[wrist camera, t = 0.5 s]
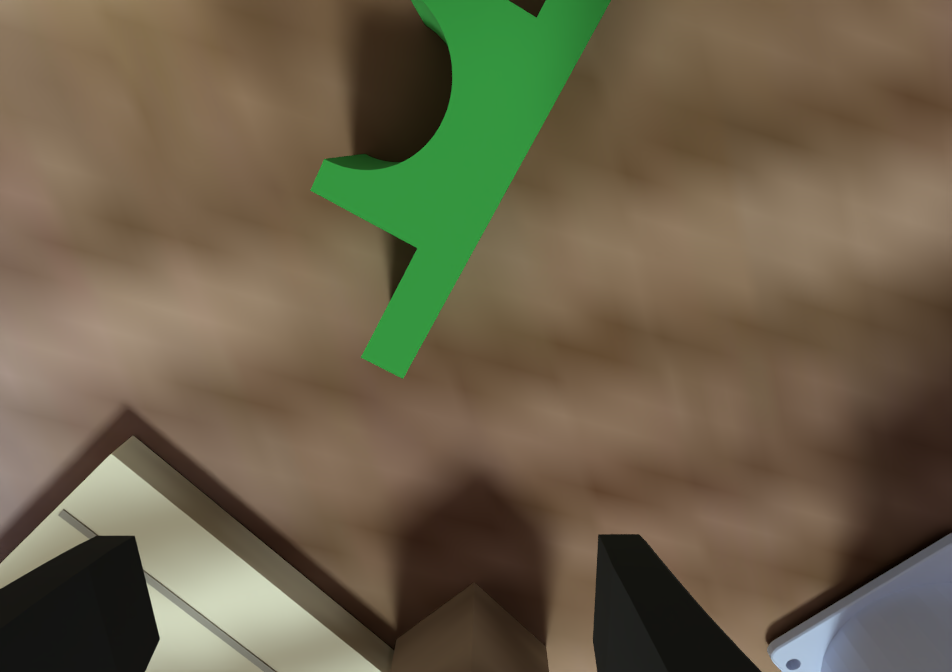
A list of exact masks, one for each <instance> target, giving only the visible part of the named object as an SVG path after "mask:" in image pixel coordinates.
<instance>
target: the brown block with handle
mask: <svg viewBox="0 0 952 672" xmlns="http://www.w3.org/2000/svg"><path fill="white" fill-rule="evenodd" d="M390 672H549V669H548V660H547V651H546V646H545V645H543V644H542V643H541V642H540V641H539V640H538V639H537V638H536V637H535V636H533V635H532V634H531V633H530V632H529V631H528V630H527V629H526V628H525V627H523V626H522V625H521V624H520V623H519V622H518V621H517V620H516V619H515V618H513V617H512V616H511V615H510V614H509V613H508V612H507V611H506V610H505V609H503V608H502V607H501V606H500V605H499V604H498V603H497V602H496V601H495V600H493V599H492V598H491V597H490V596H489V595H488V594H487V593H486V592H485V591H483V590H482V589H481V588H480V587H479V586H478V585H477V584H476V583H475V582H474V583H473V584H471V585H470V586H469V587H467V588H466V589H464V590H463V591H462V592H460V593H459V594H458V595H456V596H455V597H454V598H452V599H451V600H449V601H448V602H447V603H445V604H444V605H443V606H441V607H440V608H438V609H437V610H436V611H434V612H433V613H432V614H430V615H429V616H428V617H426V618H425V619H423V620H422V621H421V622H419V623H418V624H417V625H415V626H414V627H413V628H411V629H410V630H408V631H407V632H406V633H404V634H403V635H402V636H400V637H399V638H398V639H396V644H395V649H394V655H393V660H392V666H391V671H390Z"/></svg>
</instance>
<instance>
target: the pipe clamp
mask: <svg viewBox="0 0 952 672" xmlns="http://www.w3.org/2000/svg"><path fill="white" fill-rule="evenodd" d="M411 1H412V3H413V5H414V6H415V8H416V10H417V12H418V13H419V15H420V17H421V19H422V20H423V22H424V24H425V25H426V26H428V27H429V28H431V29H432V30H433V31H434V32H435V33H437V34H438V35H439V36H440V37H441V38H442V40H443V41H444V42H445V43H446V45H447V46H448V48H449V52H450V56H451V63H452V90H451V96H450V101H449V105H448V108H447V111H446V114H445V116H444V119H443V121H442V123H441V125H440V127H439V128H438V130H437V131H436V133H435V135H434V136H433V137H432V138H431V140H430V141H429V142H428V143H427V144H426V145H425V146H424V147H423V148H422V149H421V150H420V151H419V152H417V153H416V154H415V155H413V156H412V157H410V158H409V159H407V160H405V161H403V162H388V161H382V160H378V159H376V158H373V157H370V156H368V155H366V154H360V155H352V156H344V157H336V158H328V159H324V161H323V163H322V165H321V168H320V170H319V172H318V174H317V177H316V179H315V181H314V183H313V186H312V188H311V190H310V191H312V192H314V193H316V194H318V195H320V196H322V197H323V198H325V199H327V200H329V201H331V202H333V203H335V204H336V205H338V206H340V207H342V208H344V209H346V210H348V211H349V212H351V213H353V214H355V215H357V216H359V217H360V218H362V219H364V220H366V221H368V222H370V223H372V224H373V225H375V226H377V227H379V228H381V229H383V230H385V231H386V232H388V233H390V234H392V235H394V236H396V237H398V238H399V239H401V240H403V241H405V242H407V243H409V244H410V245H412V246H414V247H416V248H417V250H416V252H415V254H414V256H413V258H412V260H411V262H410V264H409V266H408V268H407V269H406V271H405V273H404V275H403V277H402V279H401V281H400V283H399V285H398V287H397V289H396V291H395V293H394V295H393V296H392V298H391V300H390V302H389V304H388V306H387V308H386V310H385V312H384V314H383V316H382V318H381V320H380V322H379V324H378V325H377V327H376V329H375V331H374V333H373V335H372V337H371V339H370V341H369V343H368V345H367V347H366V349H365V351H364V353H363V354H362V356H361V358H363V359H365V360H367V361H369V362H371V363H373V364H375V365H377V366H379V367H381V368H383V369H385V370H387V371H389V372H391V373H393V374H395V375H397V376H398V377H400V378H402V379H403V378H404V376H405V374H406V372H407V370H408V369H409V367H410V365H411V363H412V361H413V360H414V358H415V356H416V354H417V352H418V350H419V349H420V347H421V345H422V343H423V341H424V340H425V338H426V336H427V334H428V332H429V330H430V329H431V327H432V325H433V323H434V321H435V320H436V318H437V316H438V314H439V312H440V310H441V309H442V307H443V305H444V303H445V301H446V300H447V298H448V296H449V294H450V292H451V290H452V289H453V287H454V285H455V283H456V281H457V280H458V278H459V276H460V274H461V272H462V270H463V269H464V267H465V265H466V263H467V261H468V260H469V258H470V256H471V254H472V252H473V250H474V249H475V247H476V245H477V243H478V241H479V240H480V238H481V236H482V234H483V232H484V230H485V229H486V227H487V225H488V223H489V221H490V220H491V218H492V216H493V214H494V212H495V210H496V209H497V207H498V205H499V203H500V201H501V200H502V198H503V196H504V194H505V192H506V190H507V189H508V187H509V185H510V183H511V181H512V179H513V178H514V176H515V174H516V172H517V170H518V169H519V167H520V165H521V163H522V161H523V159H524V158H525V156H526V154H527V152H528V150H529V149H530V147H531V145H532V143H533V141H534V139H535V138H536V136H537V134H538V132H539V130H540V129H541V127H542V125H543V123H544V121H545V119H546V118H547V116H548V114H549V112H550V110H551V109H552V107H553V105H554V103H555V101H556V99H557V98H558V96H559V94H560V92H561V90H562V89H563V87H564V85H565V83H566V81H567V79H568V78H569V76H570V74H571V72H572V70H573V69H574V67H575V65H576V63H577V61H578V59H579V58H580V56H581V54H582V52H583V50H584V49H585V47H586V45H587V43H588V41H589V39H590V38H591V36H592V34H593V32H594V30H595V29H596V27H597V25H598V23H599V21H600V19H601V18H602V16H603V14H604V12H605V10H606V9H607V7H608V5H609V3H610V1H611V0H546V1H545V3H544V5H543V7H542V8H541V10H540V12H539V14H538V16H537V18H536V17H535V16H533V15H531V14H530V13H528V12H526V11H525V10H523V9H522V8H520V7H518V6H517V5H515V4H514V3H512V2H510V1H509V0H411Z"/></svg>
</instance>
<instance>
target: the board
mask: <svg viewBox="0 0 952 672" xmlns="http://www.w3.org/2000/svg"><path fill="white" fill-rule="evenodd" d="M95 536H135V538H136V542H137V547H138V551H139V555H140V559H141V563H142V567H143V571H144V575H145V579H146V583H147V588H148V592H149V596H150V600H151V604H152V608H153V612H154V616H155V620H156V624H157V629H158V633H159V637H160V640H159V642H158V645H157V647H156V649H155V651H154V653H153V656H152V658H151V660H150V662H149V664H148V667H147V669H146V671H145V672H390V671H391V666H392V660H393V655H394V650H393V649H392V648H391V647H389V646H388V645H387V644H386V643H385V642H383V641H382V640H381V639H380V638H378V637H377V636H376V635H375V634H374V633H372V632H371V631H370V630H369V629H368V628H366V627H365V626H364V625H363V624H361V623H360V622H359V621H358V620H357V619H355V618H354V617H353V616H352V615H351V614H349V613H348V612H347V611H346V610H344V609H343V608H342V607H341V606H340V605H338V604H337V603H336V602H335V601H334V600H332V599H331V598H330V597H329V596H327V595H326V594H325V593H324V592H323V591H321V590H320V589H319V588H318V587H317V586H315V585H314V584H313V583H312V582H310V581H309V580H308V579H307V578H306V577H304V576H303V575H302V574H301V573H300V572H298V571H297V570H296V569H295V568H294V567H292V566H291V565H290V564H289V563H287V562H286V561H285V560H284V559H283V558H281V557H280V556H279V555H278V554H277V553H275V552H274V551H273V550H272V549H270V548H269V547H268V546H267V545H266V544H264V543H263V542H262V541H261V540H260V539H258V538H257V537H256V536H255V535H253V534H252V533H251V532H250V531H249V530H247V529H246V528H245V527H244V526H243V525H241V524H240V523H239V522H238V521H236V520H235V519H234V518H233V517H232V516H230V515H229V514H228V513H227V512H226V511H224V510H223V509H222V508H221V507H219V506H218V505H217V504H216V503H215V502H213V501H212V500H211V499H210V498H209V497H207V496H206V495H205V494H204V493H202V492H201V491H200V490H199V489H198V488H196V487H195V486H194V485H193V484H192V483H190V482H189V481H188V480H187V479H186V478H184V477H183V476H182V475H181V474H179V473H178V472H177V471H176V470H175V469H173V468H172V467H171V466H170V465H169V464H167V463H166V462H165V461H164V460H162V459H161V458H160V457H159V456H158V455H156V454H155V453H154V452H153V451H152V450H150V449H149V448H148V447H147V446H145V445H144V444H143V443H142V442H141V441H139V440H138V439H137V438H136V437H135V436H132V437H130V438H129V439H128V440H127V441H126V442H124V443H123V444H122V445H121V446H120V447H118V448H117V449H116V450H115V451H114V452H112V453H111V454H110V455H109V456H108V457H107V458H106V459H105V460H104V461H103V462H102V463H101V464H100V465H99V466H98V467H97V468H96V469H95V470H94V471H93V472H92V473H91V474H90V475H89V476H88V477H87V478H86V479H85V480H84V481H83V482H82V483H81V484H80V485H79V486H78V487H77V488H76V489H75V490H74V491H73V492H72V493H71V494H70V495H69V496H68V497H67V498H66V499H65V500H64V501H63V502H62V503H61V504H60V505H59V506H58V507H57V508H56V509H55V510H54V511H53V512H52V513H51V514H50V515H49V516H48V517H47V518H46V519H45V520H44V521H43V522H42V523H41V524H40V525H39V526H38V527H37V528H36V529H35V530H34V531H33V532H32V533H31V534H30V535H29V536H28V537H27V538H26V539H25V540H24V541H23V542H22V543H21V544H20V545H19V546H18V547H17V548H16V549H15V550H14V551H13V552H12V553H10V554H9V555H8V556H7V557H6V558H5V559H4V560H3V561H2V562H1V563H0V589H1V588H3V587H4V586H6V585H8V584H10V583H11V582H13V581H15V580H16V579H18V578H20V577H22V576H23V575H25V574H27V573H29V572H30V571H32V570H34V569H35V568H37V567H39V566H41V565H42V564H44V563H46V562H48V561H50V560H51V559H53V558H55V557H57V556H58V555H60V554H62V553H64V552H66V551H68V550H69V549H71V548H73V547H75V546H77V545H79V544H81V543H83V542H85V541H87V540H89V539H91V538H93V537H95Z"/></svg>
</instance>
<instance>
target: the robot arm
mask: <svg viewBox="0 0 952 672" xmlns="http://www.w3.org/2000/svg"><path fill="white" fill-rule="evenodd" d="M159 640H160V637H159V633H158V629H157V624H156V620H155V616H154V612H153V608H152V604H151V600H150V596H149V592H148V588H147V583H146V579H145V575H144V571H143V567H142V563H141V559H140V555H139V551H138V547H137V542H136V538H135V536H95V537H93V538H91V539H89V540H87V541H85V542H83V543H81V544H79V545H77V546H75V547H73V548H71V549H69V550H68V551H66V552H64V553H62V554H60V555H58V556H57V557H55V558H53V559H51V560H50V561H48V562H46V563H44V564H42V565H41V566H39V567H37V568H35V569H34V570H32V571H30V572H29V573H27V574H25V575H23V576H22V577H20V578H18V579H16V580H15V581H13V582H11V583H10V584H8V585H6V586H4V587H3V588H1V589H0V672H145V671H146V669H147V667H148V664H149V662H150V660H151V658H152V656H153V653H154V651H155V649H156V647H157V645H158V642H159ZM593 644H594V651H595V658H596V665H597V672H761V671H760V670H759V669H758V668H757V666H756V665H755V664H754V663H753V662H752V661H751V660H750V659H749V658H748V657H747V656H746V655H745V654H744V653H743V652H742V651H741V650H740V649H739V648H738V647H737V645H736V644H735V643H734V642H733V641H732V640H731V639H730V638H729V637H728V636H727V635H726V634H725V633H724V631H723V630H722V629H721V628H720V627H719V626H718V625H717V624H716V623H715V622H714V621H713V620H712V618H711V617H710V616H709V615H708V614H707V613H706V612H705V611H704V610H703V608H702V607H701V606H700V605H699V604H698V603H697V602H696V600H695V599H694V598H693V597H692V596H691V595H690V594H689V592H688V591H687V590H686V589H685V588H684V587H683V585H682V584H681V583H680V582H679V581H678V580H677V578H676V577H675V576H674V575H673V574H672V572H671V571H670V570H669V569H668V568H667V566H666V565H665V564H664V563H663V562H662V560H661V559H660V558H659V557H658V556H657V554H656V553H655V552H654V551H653V549H652V548H651V547H650V546H649V545H648V543H647V542H646V541H645V540H644V539H643V538H642V537H641V536H640V535H639V534H611V535H599V536H598V555H597V574H596V593H595V612H594V631H593ZM767 652H768V654H769V656H770V658H771V659H772V661H773V663H774V664H775V665H776V666H777V667H778V668H779V669H780V670H781V671H782V672H952V533H950V534H948V535H947V536H945V537H943V538H942V539H940V540H938V541H937V542H935V543H933V544H932V545H930V546H928V547H927V548H925V549H923V550H922V551H920V552H919V553H917V554H915V555H914V556H912V557H910V558H909V559H907V560H905V561H904V562H902V563H900V564H899V565H897V566H895V567H894V568H892V569H890V570H889V571H887V572H886V573H884V574H882V575H881V576H879V577H877V578H876V579H874V580H872V581H871V582H869V583H867V584H866V585H864V586H862V587H861V588H859V589H857V590H856V591H854V592H852V593H851V594H849V595H848V596H846V597H844V598H843V599H841V600H839V601H838V602H836V603H834V604H833V605H831V606H829V607H828V608H826V609H824V610H823V611H821V612H819V613H818V614H816V615H815V616H813V617H811V618H810V619H808V620H806V621H805V622H803V623H801V624H800V625H798V626H796V627H795V628H793V629H791V630H790V631H788V632H786V633H785V634H783V635H781V636H780V637H778V638H777V639H775V640H773V641H772V642H771V643H770V644H769V646H768V648H767ZM791 659H792V660H791Z"/></svg>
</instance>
